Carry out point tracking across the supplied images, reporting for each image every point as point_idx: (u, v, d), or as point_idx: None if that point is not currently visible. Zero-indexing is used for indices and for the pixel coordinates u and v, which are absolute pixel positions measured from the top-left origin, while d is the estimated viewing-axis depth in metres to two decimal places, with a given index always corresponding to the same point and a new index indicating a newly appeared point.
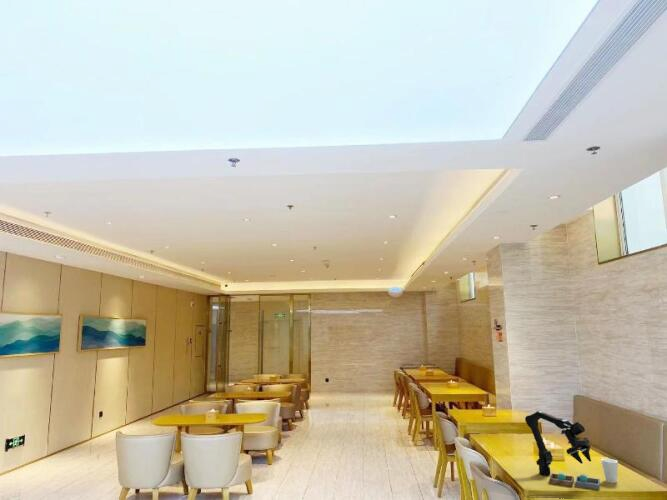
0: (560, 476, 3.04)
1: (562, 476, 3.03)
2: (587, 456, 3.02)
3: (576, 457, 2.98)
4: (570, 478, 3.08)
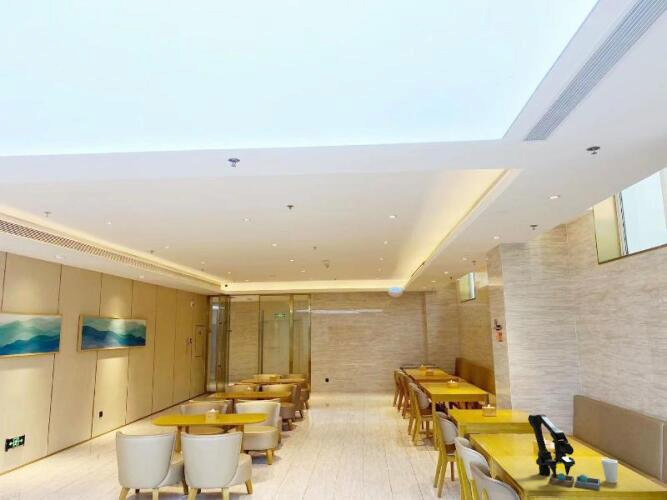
0: (560, 476, 3.04)
1: (562, 476, 3.03)
2: (566, 470, 3.07)
3: (552, 469, 3.05)
4: (570, 478, 3.08)
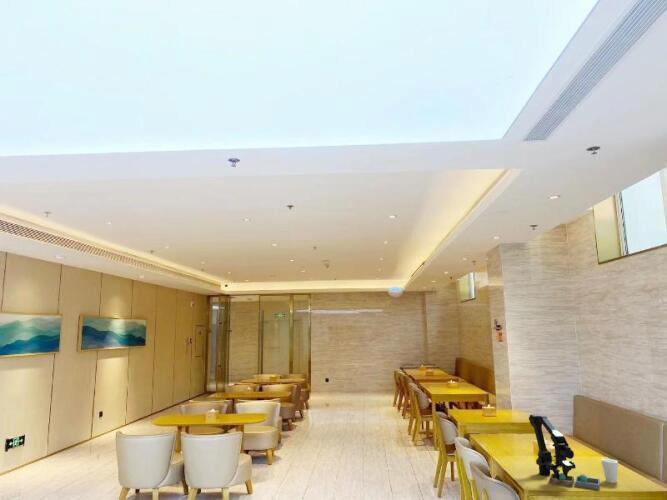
0: (560, 476, 3.04)
1: (562, 476, 3.03)
2: (564, 474, 3.06)
3: (555, 473, 3.05)
4: (570, 478, 3.08)
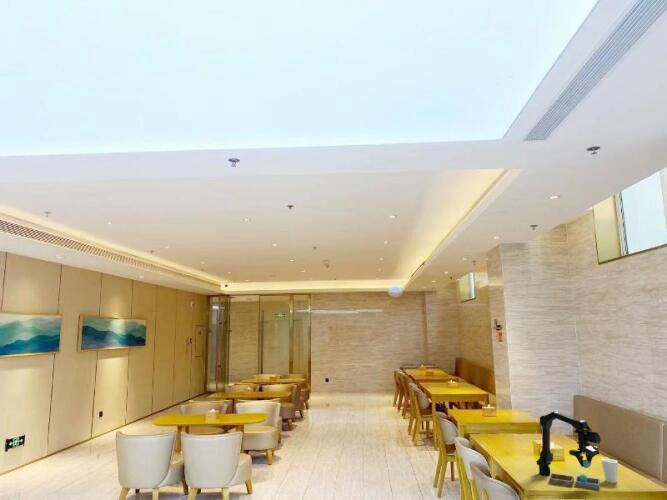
0: (584, 462, 2.97)
1: (586, 462, 2.97)
2: (588, 460, 3.00)
3: (579, 459, 2.99)
4: (570, 478, 3.08)
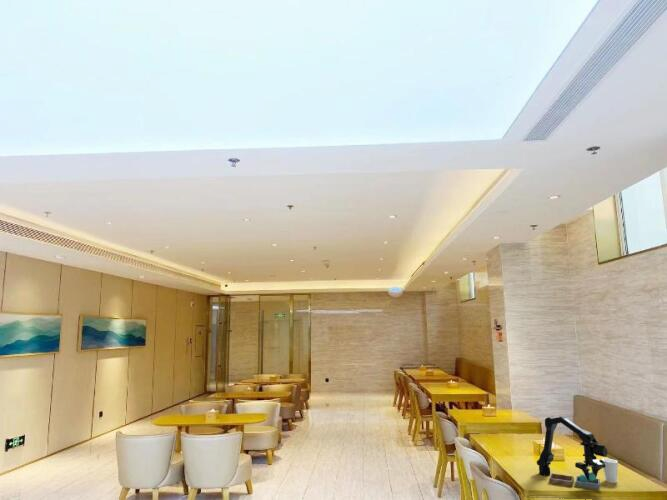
0: (590, 475, 2.95)
1: (592, 475, 2.95)
2: (594, 473, 2.97)
3: (585, 472, 2.96)
4: (570, 478, 3.08)
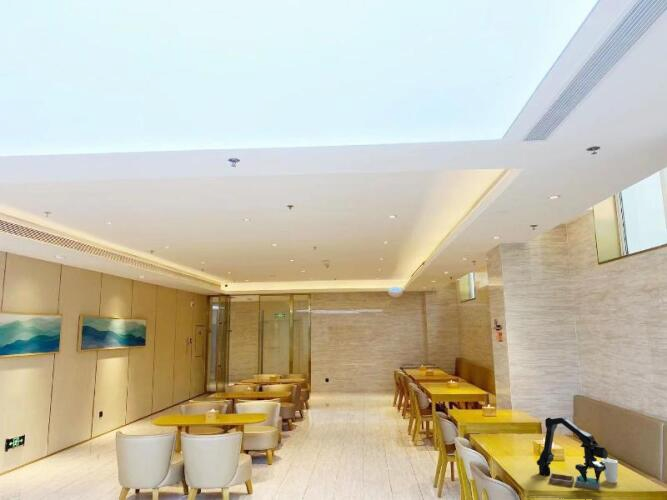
0: (590, 481, 2.94)
1: (592, 481, 2.94)
2: (597, 475, 2.98)
3: (582, 474, 2.96)
4: (570, 478, 3.08)
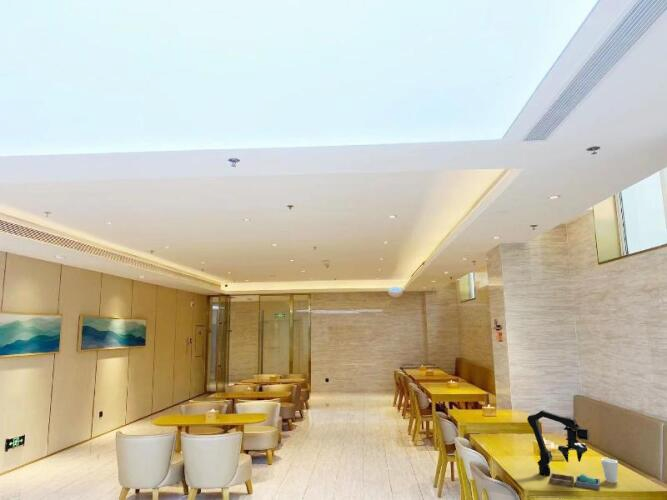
0: (590, 481, 2.94)
1: (592, 481, 2.94)
2: (578, 456, 3.13)
3: (564, 455, 3.11)
4: (570, 478, 3.08)
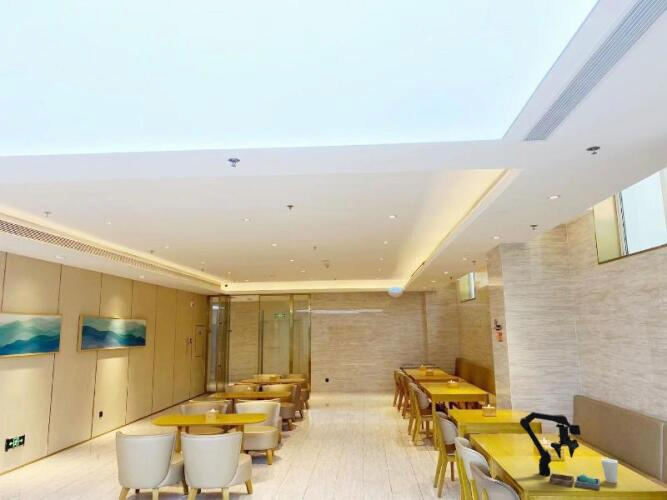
0: (590, 481, 2.94)
1: (592, 481, 2.94)
2: (570, 452, 3.20)
3: (557, 452, 3.18)
4: (570, 478, 3.08)
